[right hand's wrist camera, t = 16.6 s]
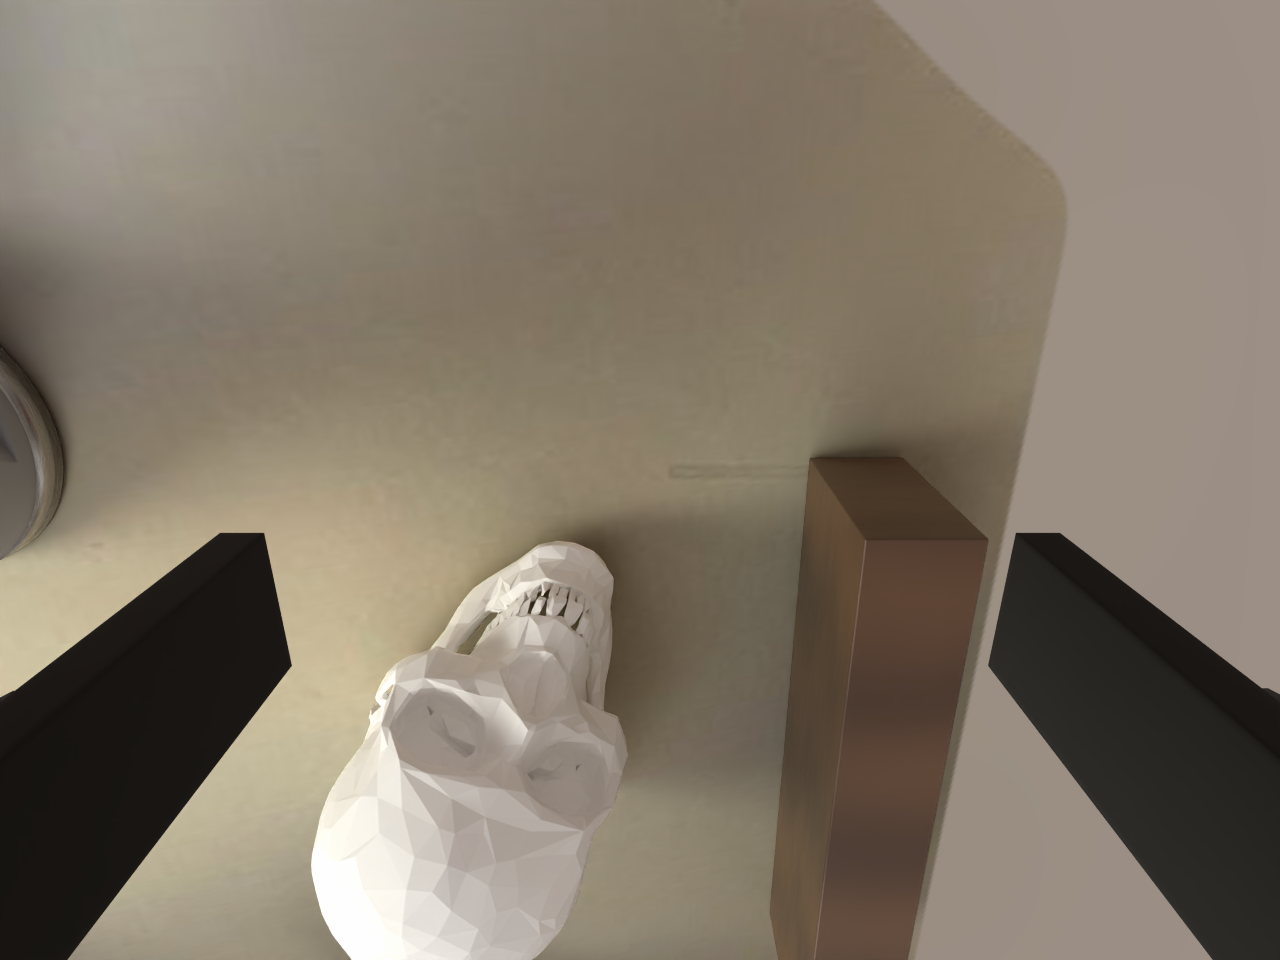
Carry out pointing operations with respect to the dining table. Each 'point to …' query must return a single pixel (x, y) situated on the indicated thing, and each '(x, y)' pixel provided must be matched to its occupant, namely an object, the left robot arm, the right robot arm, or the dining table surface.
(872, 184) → the dining table surface
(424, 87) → the dining table surface
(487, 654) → the skull
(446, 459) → the dining table surface
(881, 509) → the walnut beam
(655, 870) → the dining table surface
